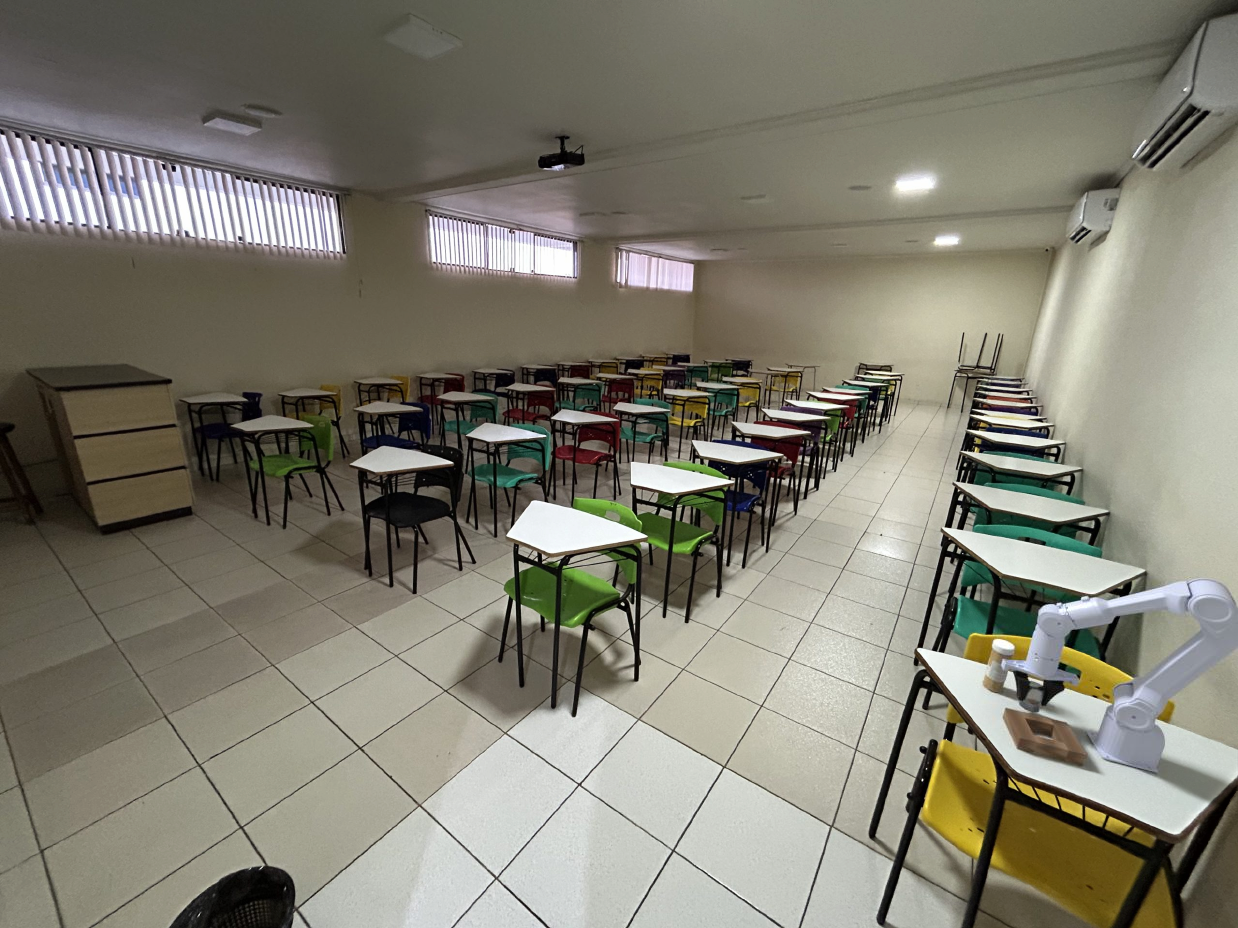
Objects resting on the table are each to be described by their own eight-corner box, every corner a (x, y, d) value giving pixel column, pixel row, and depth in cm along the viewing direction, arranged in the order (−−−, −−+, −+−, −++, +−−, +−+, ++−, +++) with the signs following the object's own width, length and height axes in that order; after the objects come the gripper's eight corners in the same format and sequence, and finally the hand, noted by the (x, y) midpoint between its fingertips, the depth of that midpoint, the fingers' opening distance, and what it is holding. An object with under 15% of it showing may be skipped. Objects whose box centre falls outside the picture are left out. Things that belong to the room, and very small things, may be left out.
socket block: (1063, 732, 118) (1066, 722, 117) (1083, 765, 109) (1086, 754, 108) (1002, 717, 122) (1005, 707, 121) (1016, 748, 113) (1020, 737, 112)
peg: (1035, 703, 124) (1041, 683, 122) (1042, 714, 120) (1048, 693, 119) (1016, 698, 125) (1022, 678, 124) (1022, 709, 122) (1028, 689, 120)
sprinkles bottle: (985, 678, 136) (996, 636, 132) (1005, 688, 132) (1017, 644, 128) (979, 686, 133) (991, 642, 129) (1000, 695, 129) (1012, 651, 126)
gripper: (1074, 650, 120) (1060, 698, 123) (1002, 636, 125) (990, 682, 128) (1088, 668, 113) (1073, 717, 117) (1012, 652, 119) (999, 700, 122)
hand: (1030, 700), depth 122 cm, fingers closed on peg, 4 cm apart
